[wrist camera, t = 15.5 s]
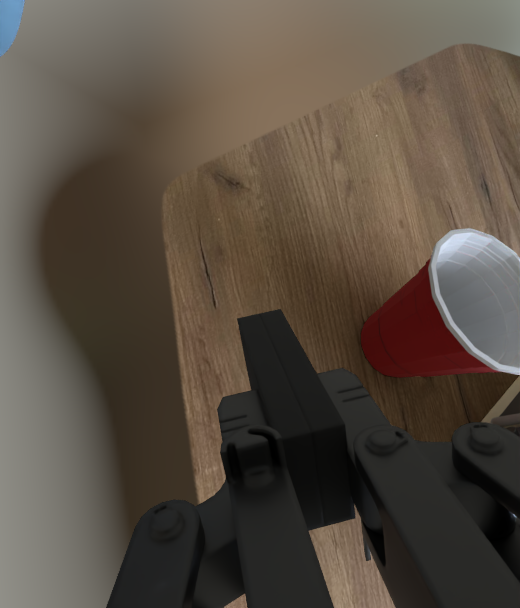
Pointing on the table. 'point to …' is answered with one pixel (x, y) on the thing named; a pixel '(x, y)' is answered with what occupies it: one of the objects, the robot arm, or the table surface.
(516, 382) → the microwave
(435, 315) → the plastic cup
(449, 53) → the table surface
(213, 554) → the robot arm
